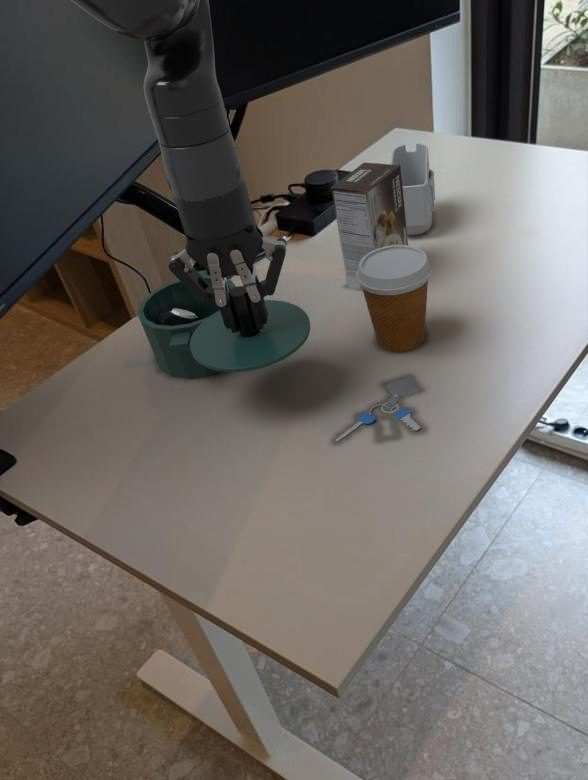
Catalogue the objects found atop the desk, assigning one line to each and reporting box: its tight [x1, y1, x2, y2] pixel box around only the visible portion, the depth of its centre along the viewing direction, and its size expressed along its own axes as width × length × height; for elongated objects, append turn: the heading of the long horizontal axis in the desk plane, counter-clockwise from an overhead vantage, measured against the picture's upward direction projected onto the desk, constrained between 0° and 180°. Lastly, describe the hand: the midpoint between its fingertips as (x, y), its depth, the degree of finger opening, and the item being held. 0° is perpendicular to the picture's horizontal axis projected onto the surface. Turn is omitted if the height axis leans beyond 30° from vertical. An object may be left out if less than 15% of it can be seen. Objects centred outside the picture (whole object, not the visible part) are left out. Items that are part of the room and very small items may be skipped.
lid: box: [190, 285, 311, 373], centre depth 80 cm, size 15×15×7 cm
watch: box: [156, 308, 201, 325], centre depth 98 cm, size 8×5×4 cm
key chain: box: [335, 377, 421, 442], centre depth 82 cm, size 14×8×1 cm, turn 147°
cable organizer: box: [390, 142, 436, 236], centre depth 113 cm, size 7×12×12 cm, turn 175°
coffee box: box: [330, 162, 409, 291], centre depth 100 cm, size 9×6×16 cm
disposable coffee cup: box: [356, 244, 432, 353], centre depth 89 cm, size 10×10×12 cm
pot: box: [136, 269, 237, 380], centre depth 95 cm, size 14×19×8 cm
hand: (248, 327), depth 81 cm, fingers closed on lid, 2 cm apart
